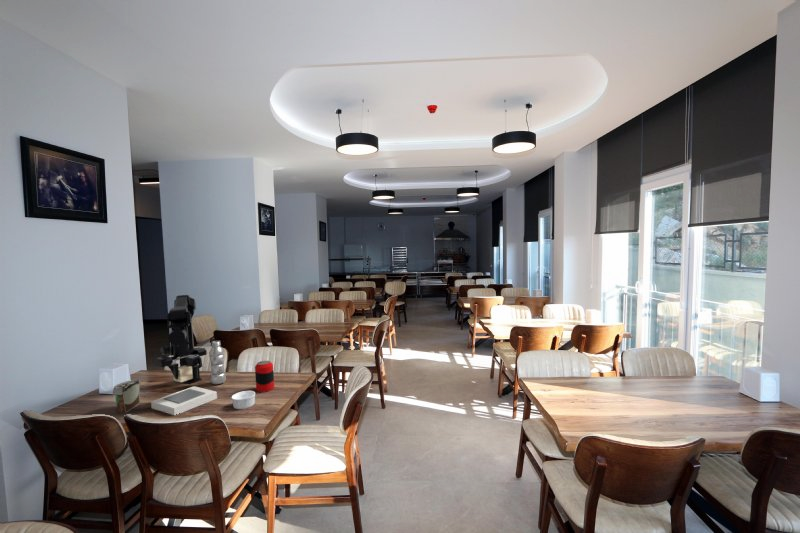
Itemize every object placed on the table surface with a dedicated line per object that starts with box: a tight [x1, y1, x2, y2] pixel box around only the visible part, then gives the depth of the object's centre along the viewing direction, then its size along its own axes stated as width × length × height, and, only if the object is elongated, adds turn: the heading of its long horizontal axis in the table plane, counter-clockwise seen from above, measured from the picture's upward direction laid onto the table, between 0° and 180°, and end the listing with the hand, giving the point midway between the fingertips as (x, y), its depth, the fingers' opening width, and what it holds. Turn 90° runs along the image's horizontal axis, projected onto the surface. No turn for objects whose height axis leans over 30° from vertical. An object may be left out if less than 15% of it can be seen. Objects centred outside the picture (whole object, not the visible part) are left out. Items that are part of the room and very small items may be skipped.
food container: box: [112, 378, 141, 414], centre depth 155 cm, size 12×6×10 cm, turn 5°
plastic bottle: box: [208, 340, 227, 385], centre depth 180 cm, size 6×7×20 cm
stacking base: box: [150, 386, 218, 416], centre depth 159 cm, size 18×16×3 cm
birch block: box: [172, 365, 193, 383], centre depth 158 cm, size 5×5×5 cm
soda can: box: [254, 360, 275, 393], centre depth 171 cm, size 8×8×12 cm
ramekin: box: [231, 390, 256, 410], centre depth 154 cm, size 9×9×4 cm
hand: (183, 377), depth 158 cm, fingers closed on birch block, 5 cm apart
